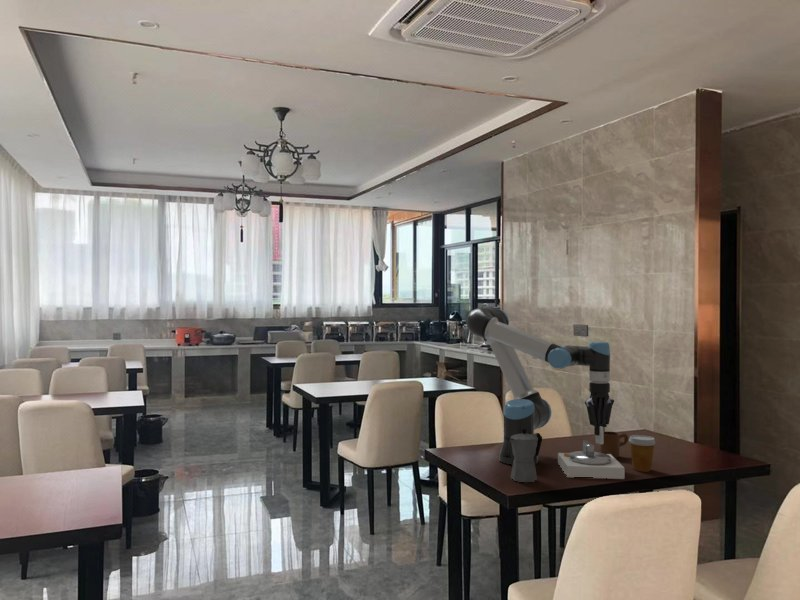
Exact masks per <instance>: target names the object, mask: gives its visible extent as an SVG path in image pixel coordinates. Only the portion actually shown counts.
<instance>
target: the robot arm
mask: <svg viewBox="0 0 800 600" xmlns="http://www.w3.org/2000/svg"><path fill="white" fill-rule="evenodd" d="M466 326H467V329H468V330H469V332H470V333H471V334H473V335H475V336H477V337H479V338H482V339H483V342H484V343H485V344H487V345H489V346H490V348H491V350H492V353H493V354H494V356H495V359H496V361H497V362H498V363H497V364H498V365H499V367H500V370H501V372H502V375H503V376H504V378H505V381H506V382H507V385H508V388H509V389H510V391H511V394H512V396H513V399H510V400H508V401H506V402H505V403H504V406H503V441H502V445H501V447H500V451H499V453H498V461H499V462H500V461H501V462H500V463H502V462H503V463H502V464H505V463H506V464H505V465H509V464H511V465H510V466H513V461H514V455H513V451H512V444H511V441H510V439H511V436H513V435H516V434H522V429H524V428H525V429H527V430H526V434H529V435H531V434H535V430H537V429H540V428H543V427H545V426H546V425H547V424H548V423H549V421H550V420H551V417H552V408H551V405H550V404H549V402H548V401H547V400H546V399H544V398H542V397H541V394H540V392H539V391H538V390H535V389H534V388H533V386H532V384H531V381H530V380H529V377H528V375H527V373H526V371H525V369H524V367H523V365H522V363H521V360H520V358H519V356H518V353H517V352H516V350H517V351H520V352H523V353H525V354H526V355H529V356H531V357H535V358H537V359H539V360H542V361H544V362H546V363H548V365H550V366H551V367H552V368H554V369H566V368H570V367H573V366H583V367H589V368H588V369H589V371H588V372H589V373H588V374H589V375H588V376H589V377H588V378H589V381H590V382H589V387H588V388H589V389H588V390H589V393H590V394H589V395H590V396H589V398H588V400H585V401H584V404H585V407H586V409H587V415H588V420H589V425H590V426H593V428H594V432H593V433H594V436H595V444H598V445H600V444H603V442H604V434H605V432H606V430H605V427H606V428H607V427H608V425H610V421H611V420H610V419H611V414H612V408H613V406H614V403H615V400H614V399H612V398H611V397H610V395H609V393H610V392H611V384H610V383H609V382H610V380H611V379H610V377H611V374H610V372H611V369H610V368H611V364H610V363H611V348H610V343H609V342H607V341H590V342H589V345H588V346H587V345H586V346H580V345H579V346H578V345H570V344H568V345H558V344H555V343H553V342H551V341H548V340H546V339H543V338H541V337H538V336H536V335H534V334H531V333H529V332H526V331H523V330H521V329H518V328H516V327H513V326H511V325H510V320H509V317H508V314H507V313H506V312H505V310H502V309H500V308H497V307H491V306H490V307H477V308H474V309H473V310H471V311H470V312H469V313H468V315H467V318H466ZM535 453H536V452H535ZM533 460H534V462H535V465H536V464H538V463H539V455H538V456H536V457H533Z"/></svg>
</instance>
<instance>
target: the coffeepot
mask: <svg viewBox="0 0 800 600" xmlns="http://www.w3.org/2000/svg"><path fill="white" fill-rule="evenodd" d="M526 430H527V429H525V428H524V429H522V434H516V435H513V436H511V439H510V441H511V444H512V451H513V455H514V461H513V465H511V472H510V477H509V479H511V478H512V479H513V480H515V481H520V482H533V483H535V482H536V481H537V480H538V475H537V470H536V464H535V462H534V460H533V457H536V456H538V457H539V454H540V450H541V446H542V442H543V437H542V435H541V433H538V432H537V433H536V432H535V433H534V434H531V435H529V434H526ZM535 452H536V453H535ZM512 479H511V480H512ZM513 480H512V481H513ZM535 480H536V481H535ZM515 481H514V482H515ZM534 481H535V482H534Z"/></svg>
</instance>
